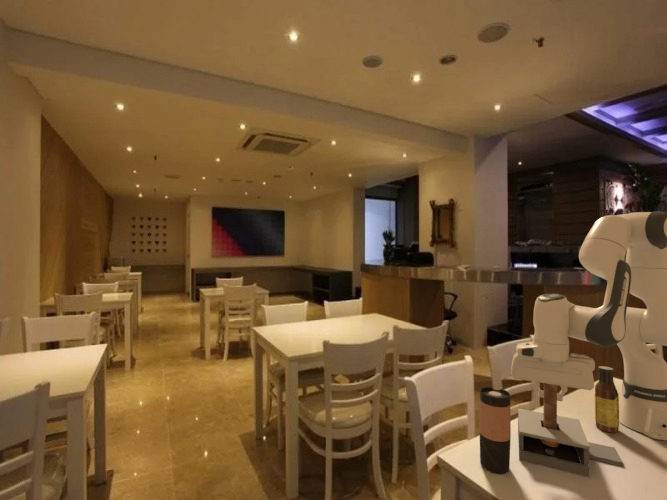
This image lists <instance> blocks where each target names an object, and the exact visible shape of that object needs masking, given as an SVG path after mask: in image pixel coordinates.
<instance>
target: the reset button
mask: <svg viewBox="0 0 667 500" xmlns="http://www.w3.org/2000/svg"><path fill="white" fill-rule="evenodd" d="M540 441H541V443H542V444H543V445H546V446H547V447H553V448H558V447H559V446H560V444H559V443H557V442H552V441H548V440H543V439H541V440H540Z"/></svg>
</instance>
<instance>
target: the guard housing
mask: <svg viewBox="0 0 667 500" xmlns="http://www.w3.org/2000/svg"><path fill="white" fill-rule="evenodd" d="M543 413H544V412H541V411H540V412H539V411H536V410H530V409H524V408H518V411H517V414H518V415H517V436H518V439H517V440H518V441H517V443H518V461H521V462H525V463H529V464H533V465H537V466H541V467H546V468H549V469H554V470H558V471H562V472H566V473H570V474H573V475H578V476H582V477H586V478H590V473H591V471H590V465H589V464H590V459H589V450H590V446H589V444H588V442H589V441H588V439H587V437H586V433H585V432H584V429H583V426H582V423H581V421H580V419H577V418H572V417H568V416H566V417H565V416H562V415H557V430H554V429H549V428H544V426H543ZM524 437H527V438H531V439H537V440H540V441H541V439H543V440H548V441H552V442H557V443H559V445H564V446H568V447H571V448H572V447H573V448H575V450H576V454H577V457H578V459H579V462H575V461H570V460H568V459H567V460H565V459H562V458H558V457H553V456H554V455H555V451H554V449H552V448H549V447H548V448H545V453H546V454H547V455H546V454H545V455H544V454H540V453H537V452H531V451H527V450H524Z"/></svg>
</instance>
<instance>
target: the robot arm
mask: <svg viewBox="0 0 667 500" xmlns="http://www.w3.org/2000/svg"><path fill="white" fill-rule="evenodd" d="M578 259H579V263H580V264H581V266H582V267H583V268H584V269H585V270H587V271H588V272H589V273H591V274H592V275H594V276H597V277H599V278H601V279H603V280H606V282H607V283H606V284H607V285H606V289H605V294H604V297H603V298H604V299H603V304H602V305H601V306H599V307H595V308H594V307H589V306H582V305H577V304H574V303H572V302H570V301H569V300H568V299H567V297H566V296H565V295H564V294H561V293H560V294H559V293H545V294H541V295H538V296H537V297H536V299H535V301H534V307H533V314H532V315H533V318H532V323H533V327H534V332H533V333H534V334H533V337H532V341H527V342H519V343H516V346H515V350H516V351H515V353H514V354H513V357H512V359H511V360H512V361H511V368H510V369H511V370H510V375H511V376H512V378H513V379H515V380H521V381H527V382H533V384H534V387H535V389H536V390H537V396H538V397H537V398H540V399H544V389H543V390H542V389H541V387H540V386H541V383H542V384H544V383H546V384H553V385H557V386H558V387H559V386H560V388H561V390H559V392H557V402H563V400H564V398H563V397H564V395H565V394H566V393H567V392H568V388H572V389H573V388H574V389H579V390H585V391H592V390H593V389H595V379H594V375H593V374H594V373H593V372H594V371H595V369H596V362H595V360H594V358H592V357H591V356H589V355H587V354H578V353H573V352H570V340H569V338H573V339H576V340H580V341H585V342H589V343H590V344H594V345H598V346H599V347H603V348H611V347H613V346H615V345H617V346H618V348H619V350H620V352H621V355H622V360H623V371H624V372H623V373H624V377H623V379H622V383H621V386H622V387H621V392H622V394H621V395H622V397H623V398H622V404H621V409H620V410H619V423H620V424H622V425H623V426H625V427H626V428H628V429H630V430H632V431H633V430H634V431H635V432H639V433H641V434H643V435H645V436H647V437H648V438H651V439H653V440H657V441H658V440H660V441H667V362H666V361H665V359H664V358H663V357H661V356H660V355H658V354H657V353H655V352H653V351H652V350H651V349H650V348H649V347H648V346H647V343H648V344H652V345H653V344H655V345H660V346H665V347H667V212H666V211H661V210H659V211H658V210H657V211H656V210H655V211H652V212H651V211H647V212H646V211H638V212H636V211H634V212H628V213H623V214H616V215H614V214H612V215H611V214H609V215H608V214H607V215H604V216H602V217H600V218H598V219H597V220H596V221H595V222H594V223H593V225H592V227H591V228H590V230H589V232H588V233H587V235H586V236H585V238H584V240H583V242H582V244H581V247H580V248H579V252H578ZM630 295H632V296H634V297H636V298H638V299H640V300H642V302H643V303H644V304H645V306H646V308H638V307H631V306H628V303H629V297H630Z"/></svg>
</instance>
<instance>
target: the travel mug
mask: <svg viewBox="0 0 667 500" xmlns="http://www.w3.org/2000/svg"><path fill="white" fill-rule="evenodd" d="M511 425H512V424H511V394H510V392H509V391H507V390H505V389H504V388H503V389H502V388H500V389H495V388H492V387H491V386H485V387H482V388H480V390H479V429H478V431H479V457H480V458H479V459H480V462H479V463H480V465H481V466H482V468H483V469H484V470H486V471H487V472H489V471H490V473H492V474H495V473H496V474H497V475H505V474H508V472H509V471H510V462H511V461H510V460H511V436H512V435H511Z"/></svg>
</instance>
